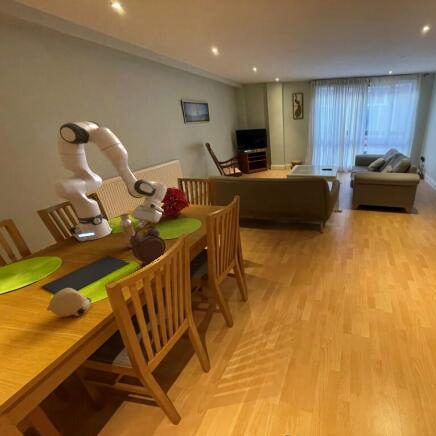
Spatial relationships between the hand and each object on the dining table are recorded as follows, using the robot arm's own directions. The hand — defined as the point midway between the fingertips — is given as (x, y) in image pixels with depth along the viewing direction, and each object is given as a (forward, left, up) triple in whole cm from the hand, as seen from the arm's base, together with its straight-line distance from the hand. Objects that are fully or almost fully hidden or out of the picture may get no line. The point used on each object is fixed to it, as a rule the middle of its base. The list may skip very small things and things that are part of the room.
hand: (139, 227), depth 143 cm
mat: (+6, -33, -10) cm, 35 cm away
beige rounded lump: (+29, -50, -10) cm, 59 cm away
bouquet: (-19, +37, -10) cm, 42 cm away
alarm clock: (+25, -13, -10) cm, 30 cm away
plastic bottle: (0, -6, -10) cm, 12 cm away
